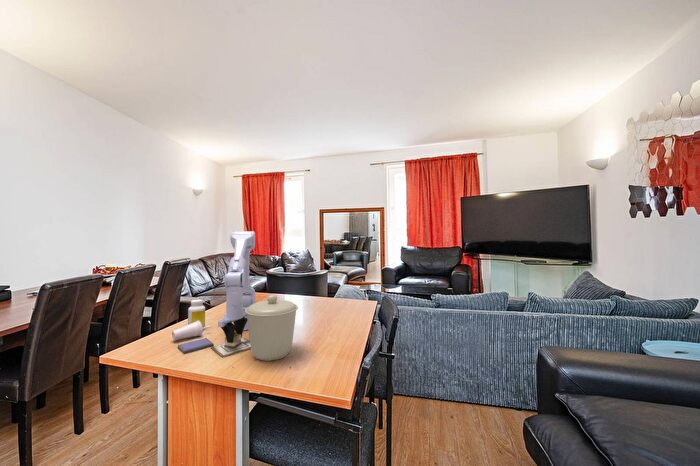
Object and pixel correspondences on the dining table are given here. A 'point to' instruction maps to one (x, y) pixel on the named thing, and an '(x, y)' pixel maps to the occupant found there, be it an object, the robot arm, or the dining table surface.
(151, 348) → the dining table surface
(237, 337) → the stamp
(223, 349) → the clipboard
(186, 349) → the ink tray
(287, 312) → the canister
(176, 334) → the smoothie
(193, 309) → the supplement bottle
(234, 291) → the robot arm
